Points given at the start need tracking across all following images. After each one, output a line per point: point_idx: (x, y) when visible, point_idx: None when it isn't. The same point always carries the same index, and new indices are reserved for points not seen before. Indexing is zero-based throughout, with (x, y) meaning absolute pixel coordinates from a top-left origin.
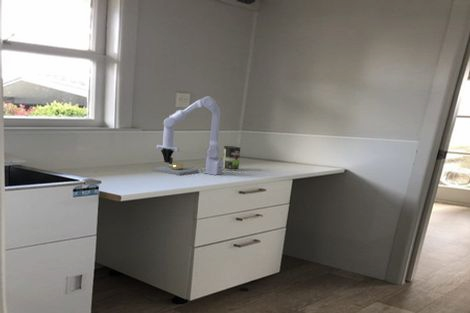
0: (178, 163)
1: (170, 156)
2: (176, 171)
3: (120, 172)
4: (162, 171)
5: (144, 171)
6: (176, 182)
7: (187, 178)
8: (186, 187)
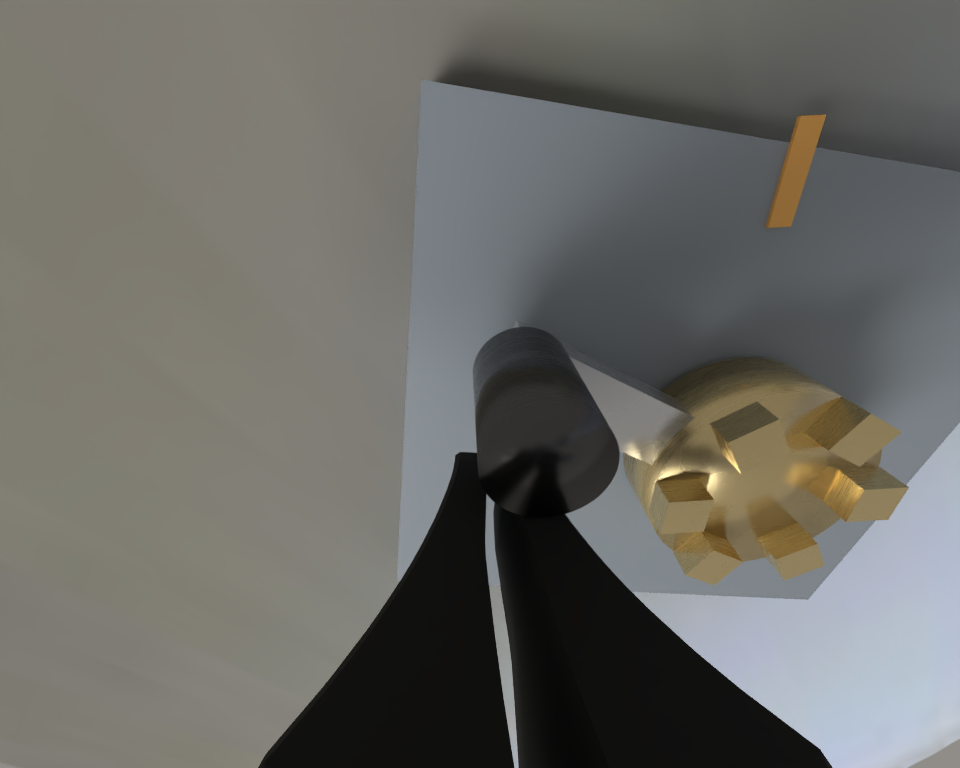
0: (777, 447)
1: (595, 573)
2: (754, 572)
3: None
4: None
5: None
6: (817, 730)
7: (886, 617)
8: (897, 763)
